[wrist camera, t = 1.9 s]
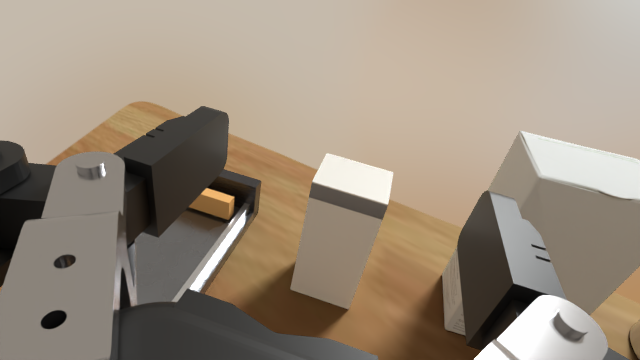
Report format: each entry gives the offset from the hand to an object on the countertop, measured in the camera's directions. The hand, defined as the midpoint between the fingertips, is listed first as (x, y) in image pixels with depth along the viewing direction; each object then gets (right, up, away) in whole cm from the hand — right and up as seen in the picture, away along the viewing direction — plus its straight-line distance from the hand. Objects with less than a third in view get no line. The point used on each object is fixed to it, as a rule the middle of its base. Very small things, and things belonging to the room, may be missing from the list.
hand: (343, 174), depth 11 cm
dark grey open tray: (-13, -6, +19) cm, 24 cm away
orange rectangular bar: (-12, -3, +22) cm, 25 cm away
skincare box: (+14, -12, +20) cm, 27 cm away
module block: (0, -9, +19) cm, 21 cm away
